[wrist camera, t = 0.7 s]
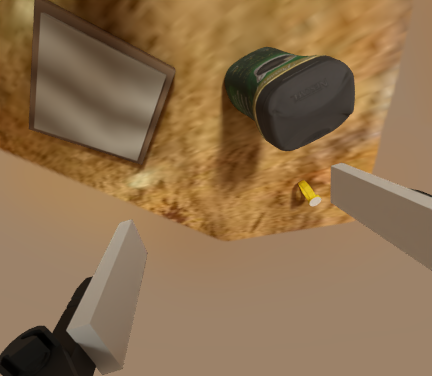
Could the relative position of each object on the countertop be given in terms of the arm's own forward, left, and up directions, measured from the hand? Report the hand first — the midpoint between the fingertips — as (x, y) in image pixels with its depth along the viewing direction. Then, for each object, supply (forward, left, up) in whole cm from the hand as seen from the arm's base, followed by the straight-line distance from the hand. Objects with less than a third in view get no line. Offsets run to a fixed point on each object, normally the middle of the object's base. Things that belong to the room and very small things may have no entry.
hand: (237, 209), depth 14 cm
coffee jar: (-7, +7, -27) cm, 29 cm away
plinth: (+5, -13, -27) cm, 30 cm away
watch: (+7, +31, -27) cm, 42 cm away
